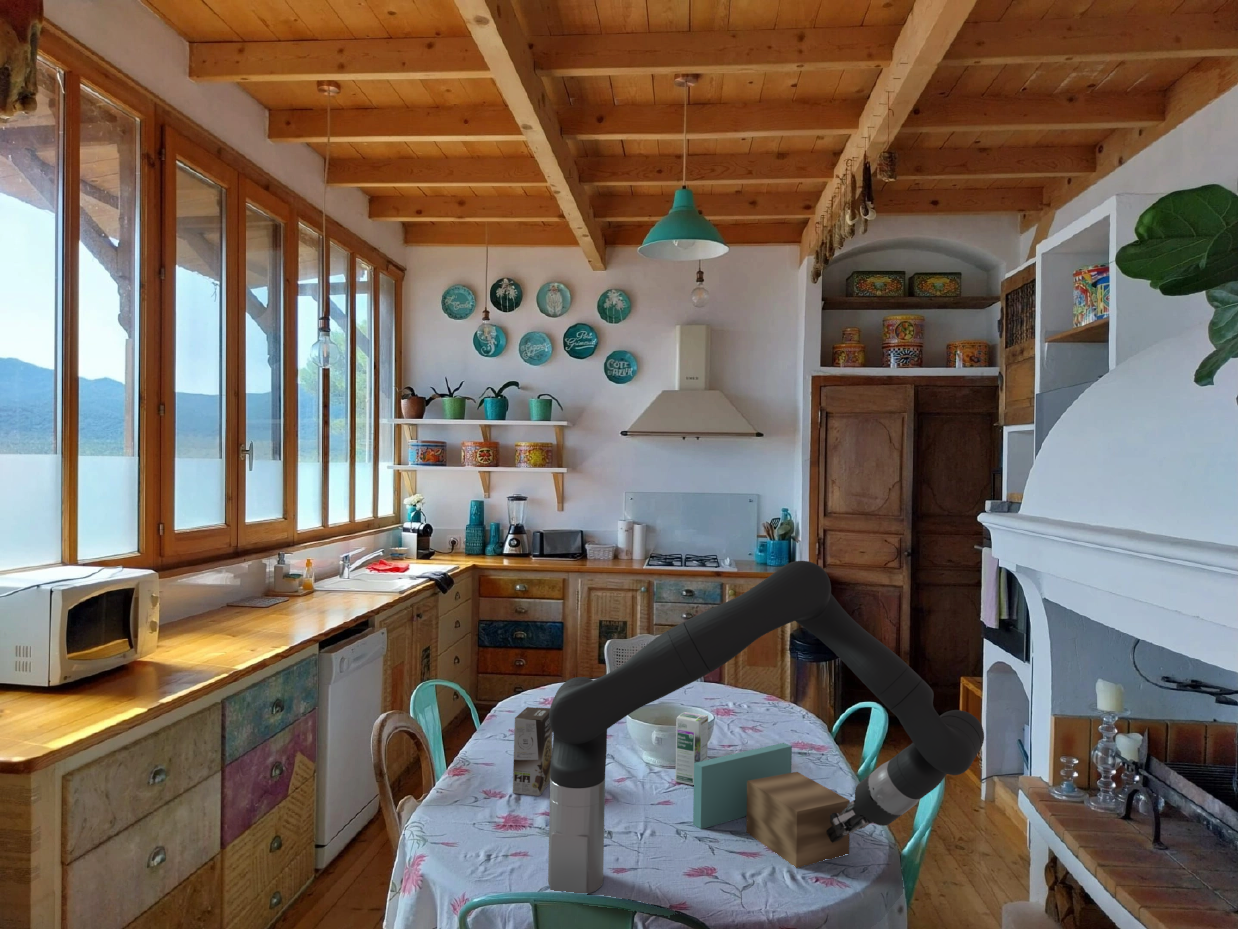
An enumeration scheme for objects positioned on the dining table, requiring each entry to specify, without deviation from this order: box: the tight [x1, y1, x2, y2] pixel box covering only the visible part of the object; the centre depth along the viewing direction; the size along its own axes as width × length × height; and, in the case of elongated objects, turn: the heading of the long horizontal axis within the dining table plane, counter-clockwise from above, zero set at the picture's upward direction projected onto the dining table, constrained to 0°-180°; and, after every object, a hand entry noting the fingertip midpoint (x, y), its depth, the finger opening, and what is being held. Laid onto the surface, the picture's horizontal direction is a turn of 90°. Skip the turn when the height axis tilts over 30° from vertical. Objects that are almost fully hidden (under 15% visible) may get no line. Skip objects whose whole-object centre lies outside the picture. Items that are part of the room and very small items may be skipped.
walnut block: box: [745, 771, 851, 869], centre depth 145 cm, size 15×12×10 cm
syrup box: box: [674, 711, 709, 786], centre depth 175 cm, size 6×6×14 cm
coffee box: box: [512, 706, 553, 797], centre depth 169 cm, size 9×6×16 cm
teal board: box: [692, 742, 793, 830], centre depth 158 cm, size 2×24×12 cm, turn 122°
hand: (831, 836), depth 138 cm, fingers closed
